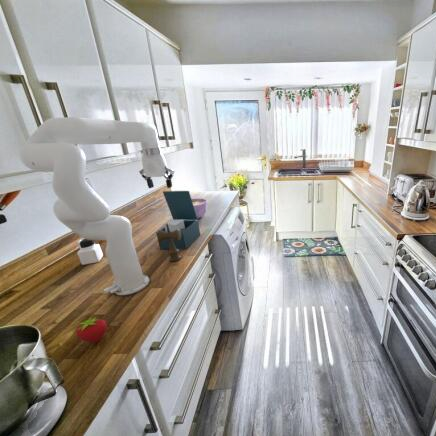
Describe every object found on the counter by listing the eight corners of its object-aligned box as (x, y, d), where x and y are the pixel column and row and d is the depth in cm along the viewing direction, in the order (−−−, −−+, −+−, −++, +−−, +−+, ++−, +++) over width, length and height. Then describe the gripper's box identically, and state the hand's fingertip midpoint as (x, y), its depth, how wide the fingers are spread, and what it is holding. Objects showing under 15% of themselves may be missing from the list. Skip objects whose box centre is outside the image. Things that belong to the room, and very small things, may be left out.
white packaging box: (180, 245, 132) (175, 224, 127) (168, 244, 133) (163, 224, 129) (188, 239, 138) (183, 219, 134) (176, 239, 140) (172, 219, 135)
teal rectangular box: (186, 249, 130) (182, 232, 126) (160, 248, 131) (155, 232, 128) (200, 234, 147) (197, 219, 143) (177, 234, 148) (173, 219, 144)
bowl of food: (177, 217, 177) (173, 202, 173) (203, 210, 189) (200, 196, 185) (186, 224, 163) (183, 208, 159) (214, 217, 175) (211, 202, 171)
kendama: (168, 257, 122) (158, 221, 115) (187, 255, 123) (179, 220, 116) (163, 263, 117) (153, 226, 110) (183, 262, 117) (174, 224, 110)
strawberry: (108, 346, 73) (97, 321, 69) (78, 353, 71) (66, 328, 67) (115, 331, 78) (105, 307, 74) (87, 337, 76) (76, 313, 72)
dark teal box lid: (188, 191, 132) (192, 187, 136) (162, 191, 133) (167, 187, 138) (197, 219, 143) (200, 215, 147) (173, 219, 144) (177, 215, 148)
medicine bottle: (103, 255, 126) (96, 235, 122) (99, 262, 120) (90, 240, 116) (87, 258, 124) (79, 237, 120) (81, 265, 118) (72, 243, 113)
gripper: (129, 153, 110) (139, 189, 116) (165, 152, 108) (173, 189, 115) (140, 151, 117) (148, 186, 123) (173, 150, 115) (180, 185, 122)
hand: (160, 187), depth 119 cm, fingers open, 9 cm apart
